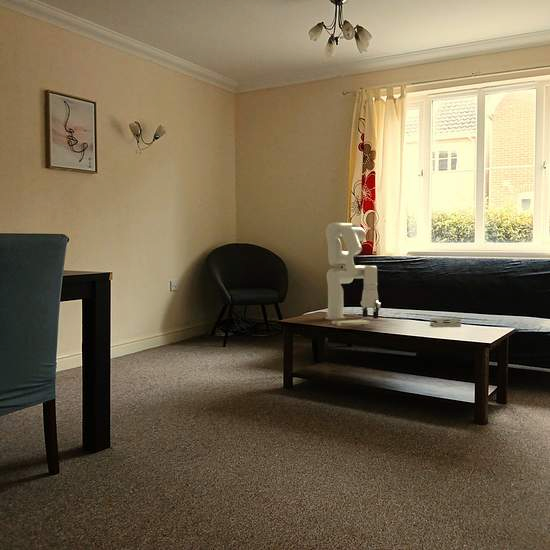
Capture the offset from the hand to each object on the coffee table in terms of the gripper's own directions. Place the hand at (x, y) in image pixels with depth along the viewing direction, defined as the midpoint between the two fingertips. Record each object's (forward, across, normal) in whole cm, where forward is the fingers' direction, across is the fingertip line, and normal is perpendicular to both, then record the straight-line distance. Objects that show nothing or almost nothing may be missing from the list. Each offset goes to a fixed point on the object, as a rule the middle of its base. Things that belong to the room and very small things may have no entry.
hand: (370, 317), depth 318 cm
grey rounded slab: (+3, +22, +38) cm, 44 cm away
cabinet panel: (+5, -11, -5) cm, 13 cm away
